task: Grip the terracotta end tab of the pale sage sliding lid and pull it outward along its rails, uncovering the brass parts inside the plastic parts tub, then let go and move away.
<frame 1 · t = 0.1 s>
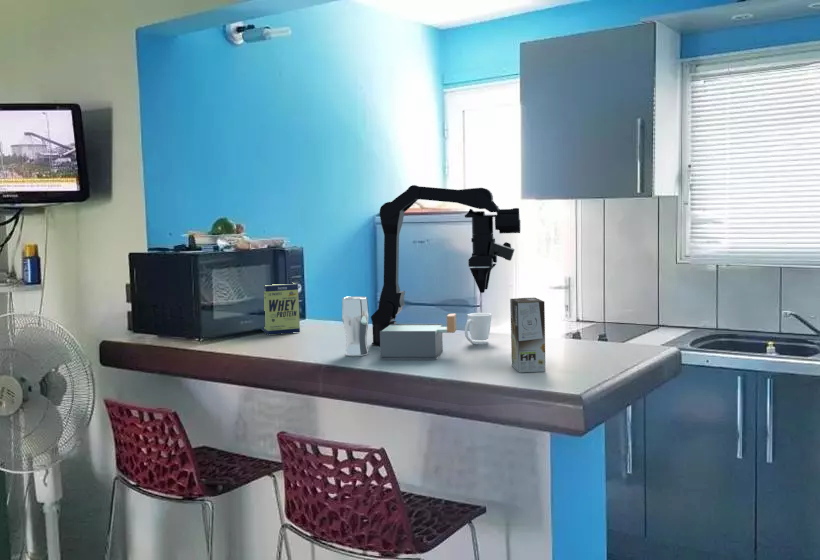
hand: (483, 290, 220), 15 cm above the table, tool pointing down, fingers open, 9 cm apart
tub: (412, 355, 207), on the table
cup: (476, 344, 222), on the table
coffee box: (528, 369, 185), on the table
lid: (419, 323, 206), point 8 cm above the table, slide at 0.0 cm
protein box: (279, 331, 258), on the table
beer glass: (356, 355, 210), on the table
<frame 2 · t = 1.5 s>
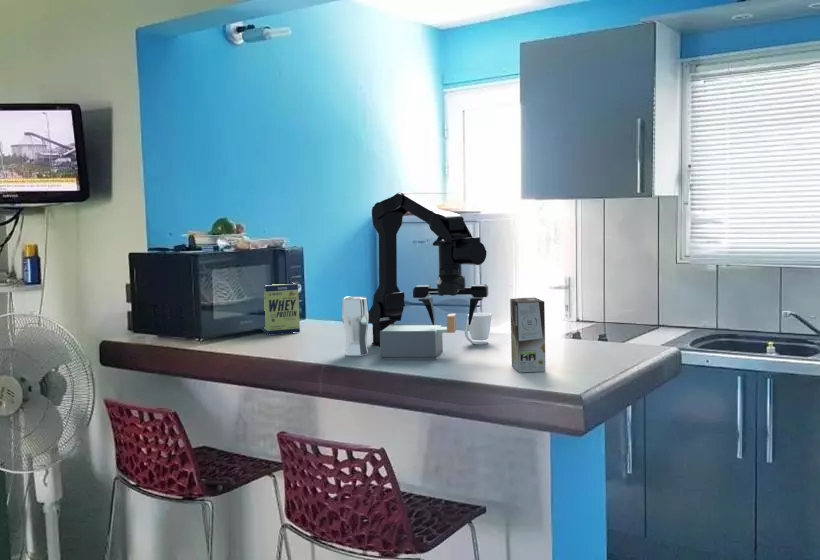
hand: (451, 324, 204), 8 cm above the table, tool pointing down, fingers open, 9 cm apart
nothing on the table moved.
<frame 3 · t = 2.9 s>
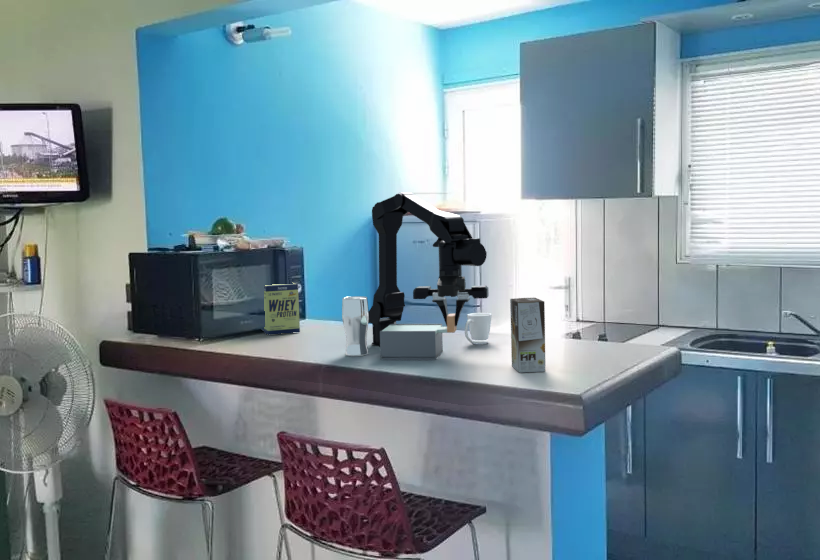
hand: (451, 326, 204), 8 cm above the table, tool pointing down, fingers closed on lid, 2 cm apart
lid: (419, 323, 206), point 8 cm above the table, slide at 0.0 cm, touching gripper
everything else where it was.
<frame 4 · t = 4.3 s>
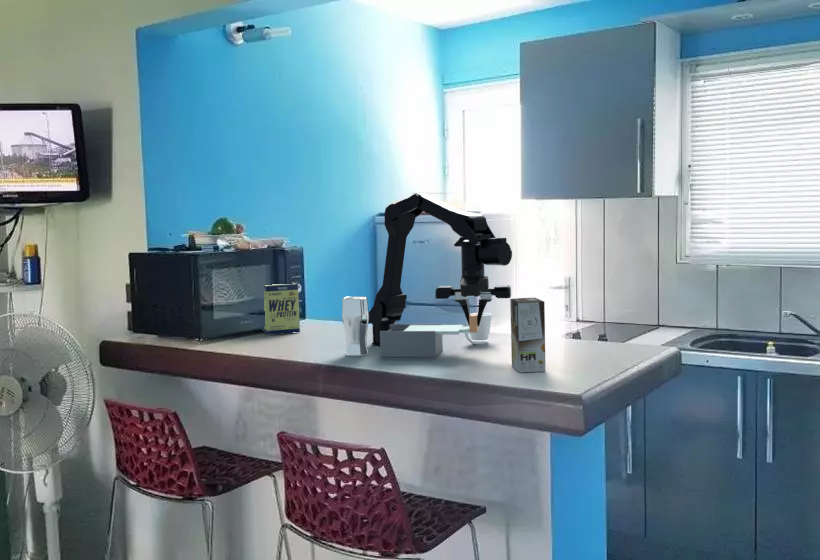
hand: (474, 325, 203), 8 cm above the table, tool pointing down, fingers closed on lid, 2 cm apart
lid: (441, 323, 205), point 8 cm above the table, slide at 5.7 cm, touching gripper
everything else where it was.
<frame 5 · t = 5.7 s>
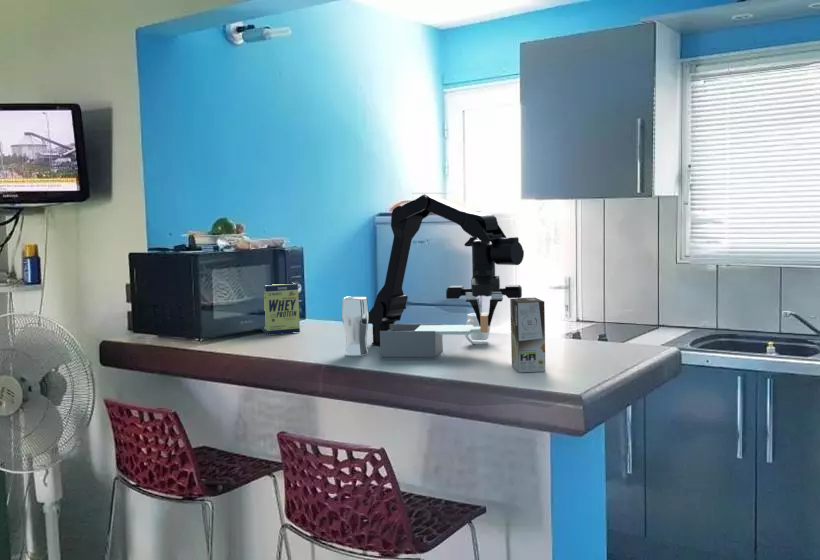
hand: (484, 325, 203), 8 cm above the table, tool pointing down, fingers closed on lid, 2 cm apart
lid: (452, 323, 204), point 8 cm above the table, slide at 8.4 cm, touching gripper
everything else where it was.
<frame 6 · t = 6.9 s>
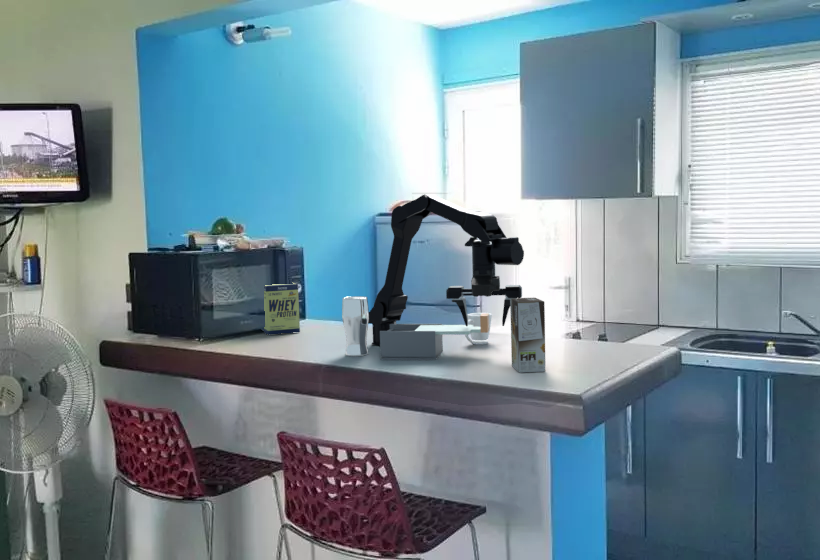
hand: (485, 325, 203), 8 cm above the table, tool pointing down, fingers open, 9 cm apart
lid: (452, 323, 204), point 8 cm above the table, slide at 8.4 cm
everything else where it was.
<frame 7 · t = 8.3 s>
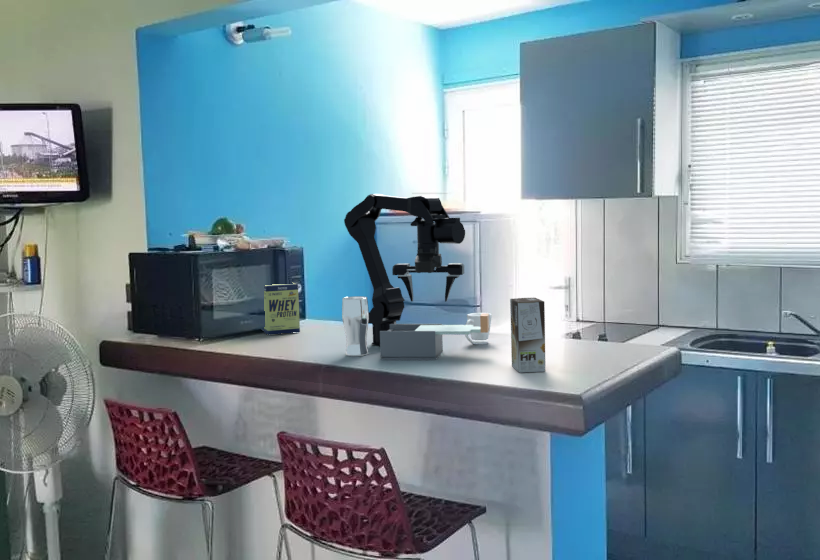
hand: (429, 301, 215), 13 cm above the table, tool pointing down, fingers open, 9 cm apart
nothing on the table moved.
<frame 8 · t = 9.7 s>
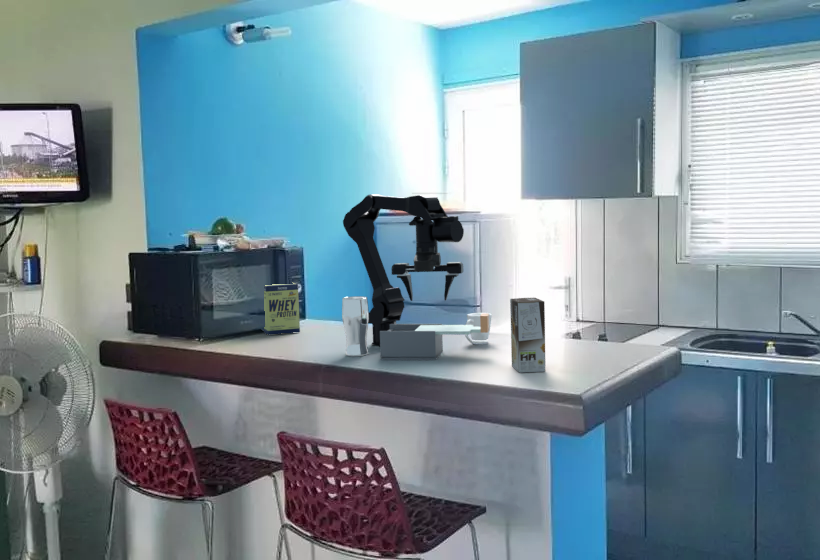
hand: (428, 300, 215), 13 cm above the table, tool pointing down, fingers open, 9 cm apart
nothing on the table moved.
at the end: lid slide at 8.4 cm; the gripper is holding nothing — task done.
